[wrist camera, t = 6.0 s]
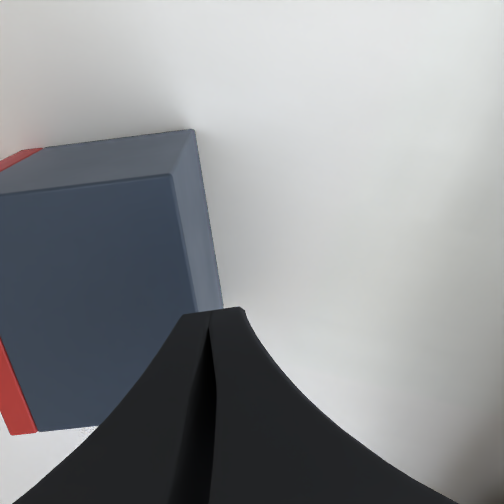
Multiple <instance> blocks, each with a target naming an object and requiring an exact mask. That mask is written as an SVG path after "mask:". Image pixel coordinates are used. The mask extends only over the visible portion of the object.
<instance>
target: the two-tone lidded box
mask: <svg viewBox="0 0 504 504" xmlns="http://www.w3.org/2000/svg"><path fill="white" fill-rule="evenodd" d="M218 309H223V299H222V293H221V287H220V281H219V275H218V269H217V263H216V257H215V251H214V245H213V239H212V233H211V227H210V220H209V214H208V208H207V202H206V196H205V190H204V184H203V178H202V172H201V166H200V160H199V154H198V148H197V142H196V135H195V131H194V130H193V129H188V130H180V131H172V132H164V133H156V134H148V135H140V136H132V137H124V138H116V139H108V140H100V141H92V142H84V143H76V144H68V145H60V146H52V147H45V148H35V149H27V150H21V151H19V152H17V153H15V154H13V155H11V156H9V157H7V158H5V159H3V160H1V161H0V412H1V414H2V416H3V419H4V421H5V423H6V426H7V428H8V430H9V433H10V434H11V435H21V434H30V433H36V432H37V431H39V432H45V431H54V430H63V429H72V428H81V427H91V426H99V425H100V424H101V423H102V422H103V421H104V420H105V419H106V418H107V417H108V416H109V415H110V413H111V412H112V411H113V410H114V409H115V408H116V407H117V405H118V404H119V403H120V402H121V400H122V399H123V398H124V397H125V395H126V394H127V393H128V392H129V390H130V389H131V388H132V387H133V385H134V384H135V383H136V382H137V380H138V379H139V378H140V377H141V375H142V374H143V372H144V371H145V370H146V368H147V367H148V365H149V364H150V363H151V361H152V360H153V358H154V357H155V355H156V354H157V353H158V351H159V350H160V348H161V347H162V345H163V344H164V342H165V341H166V339H167V337H168V336H169V334H170V333H171V331H172V329H173V328H174V326H175V325H176V323H177V321H178V320H179V319H180V317H181V316H182V315H183V314H189V313H196V312H203V311H210V310H218Z"/></svg>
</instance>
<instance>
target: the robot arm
mask: <svg viewBox="0 0 504 504" xmlns="http://www.w3.org/2000/svg"><path fill="white" fill-rule="evenodd" d="M13 504H458V503H457V502H455V501H453V500H451V499H449V498H447V497H445V496H444V495H442V494H440V493H438V492H436V491H434V490H433V489H431V488H429V487H427V486H425V485H423V484H421V483H420V482H418V481H416V480H414V479H413V478H411V477H409V476H408V475H406V474H405V473H403V472H401V471H400V470H398V469H397V468H395V467H394V466H392V465H391V464H389V463H387V462H386V461H384V460H383V459H382V458H380V457H379V456H378V455H376V454H375V453H374V452H372V451H371V450H369V449H368V448H367V447H365V446H364V445H363V444H361V443H360V442H359V441H357V440H356V439H355V438H353V437H352V436H351V435H349V434H348V433H346V432H345V431H344V430H343V429H341V428H340V427H339V426H338V425H337V424H335V423H334V422H333V421H332V420H331V419H330V418H328V417H327V416H326V415H325V414H324V413H323V412H322V411H321V410H319V409H318V408H317V407H316V406H315V405H314V404H313V403H312V402H311V401H310V400H309V399H308V398H307V397H306V396H305V395H304V394H303V393H302V392H301V391H300V390H299V389H298V388H297V387H296V386H295V385H294V384H293V383H292V381H291V380H290V379H289V378H288V377H287V376H286V375H285V373H284V372H283V371H282V370H281V369H280V367H279V366H278V365H277V364H276V362H275V361H274V360H273V359H272V357H271V356H270V354H269V353H268V352H267V350H266V349H265V348H264V346H263V345H262V343H261V342H260V340H259V339H258V337H257V336H256V334H255V332H254V331H253V329H252V327H251V325H250V323H249V321H248V319H247V316H246V313H245V310H243V309H242V308H241V307H232V308H225V309H218V310H210V311H203V312H196V313H189V314H183V315H182V316H181V317H180V319H179V320H178V321H177V323H176V325H175V326H174V328H173V329H172V331H171V333H170V334H169V336H168V337H167V339H166V341H165V342H164V344H163V345H162V347H161V348H160V350H159V351H158V353H157V354H156V355H155V357H154V358H153V360H152V361H151V363H150V364H149V365H148V367H147V368H146V370H145V371H144V372H143V374H142V375H141V377H140V378H139V379H138V380H137V382H136V383H135V384H134V385H133V387H132V388H131V389H130V390H129V392H128V393H127V394H126V395H125V397H124V398H123V399H122V400H121V402H120V403H119V404H118V405H117V407H116V408H115V409H114V410H113V411H112V412H111V413H110V415H109V416H108V417H107V418H106V419H105V420H104V421H103V422H102V423H101V424H100V425H99V426H98V428H97V429H96V430H95V431H94V432H93V433H92V434H91V435H90V436H89V437H88V438H87V439H86V440H85V441H84V442H83V443H82V444H81V445H80V446H79V447H78V448H77V449H75V450H74V451H73V452H72V453H71V454H70V455H69V456H68V457H66V458H65V459H64V460H63V461H62V462H61V463H60V464H59V465H57V466H56V467H55V468H54V469H53V470H52V471H51V472H50V473H48V474H47V475H46V476H45V477H44V478H43V479H42V480H41V481H39V482H38V483H37V484H36V485H35V486H34V487H33V488H31V489H30V490H29V491H28V492H26V493H25V494H24V495H23V496H21V497H20V498H19V499H18V500H16V501H15V502H14V503H13Z"/></svg>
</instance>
